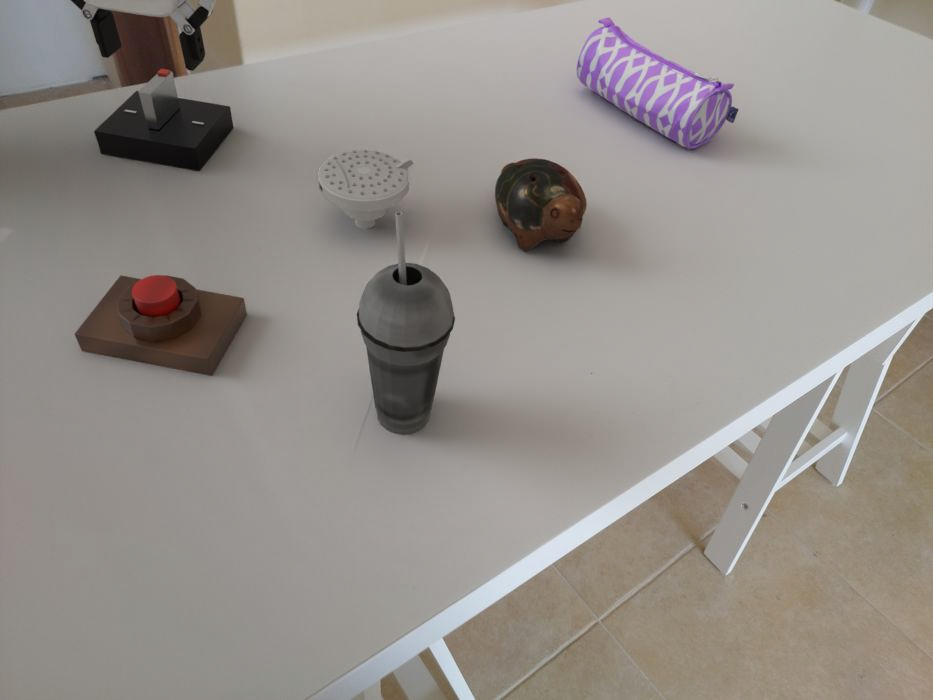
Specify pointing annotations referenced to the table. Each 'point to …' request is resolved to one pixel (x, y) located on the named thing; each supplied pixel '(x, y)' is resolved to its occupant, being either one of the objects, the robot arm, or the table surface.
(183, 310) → the button block
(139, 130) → the black lever switch box
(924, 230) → the table surface
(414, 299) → the beverage cup
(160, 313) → the stop button
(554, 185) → the decorative turtle
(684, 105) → the pencil case
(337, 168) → the showerhead
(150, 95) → the grey rectangular plate
